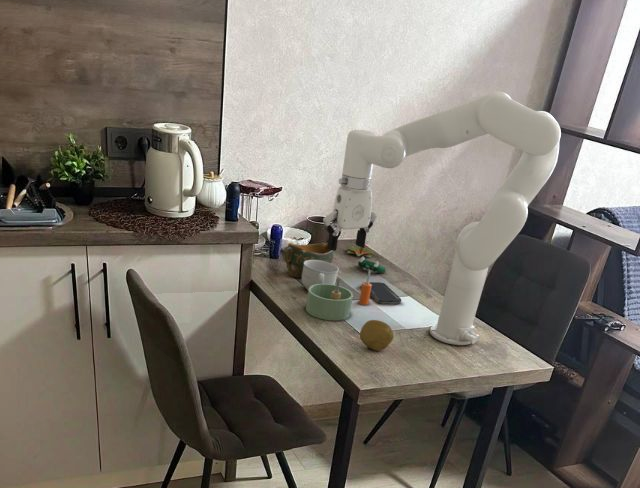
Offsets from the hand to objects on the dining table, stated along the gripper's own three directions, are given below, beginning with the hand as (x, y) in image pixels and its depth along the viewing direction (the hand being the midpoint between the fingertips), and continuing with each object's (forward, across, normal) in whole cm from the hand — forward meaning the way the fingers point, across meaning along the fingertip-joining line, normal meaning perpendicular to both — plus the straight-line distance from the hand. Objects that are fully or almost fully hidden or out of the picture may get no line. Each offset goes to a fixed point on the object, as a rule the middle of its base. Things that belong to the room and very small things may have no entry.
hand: (345, 247), depth 197 cm
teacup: (+20, +5, +17) cm, 26 cm away
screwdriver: (+20, +14, +5) cm, 25 cm away
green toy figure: (+20, +35, +28) cm, 49 cm away
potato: (+20, -4, -22) cm, 30 cm away
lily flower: (+20, +44, +44) cm, 65 cm away
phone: (+20, +24, +9) cm, 32 cm away
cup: (+20, +11, +32) cm, 39 cm away
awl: (+19, -1, 0) cm, 19 cm away
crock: (+20, -1, +3) cm, 20 cm away
